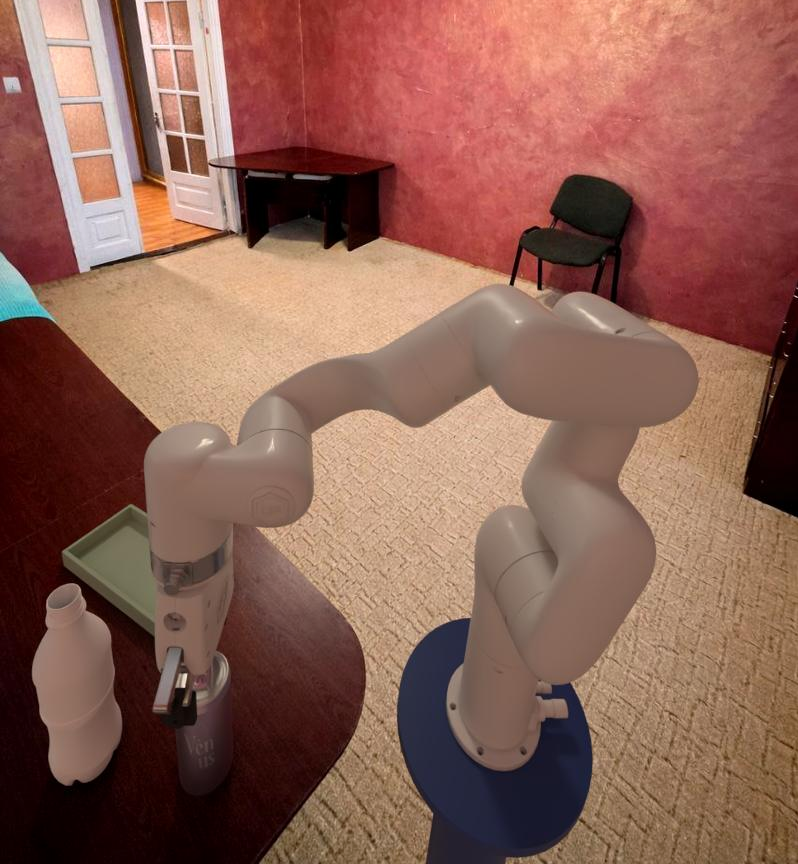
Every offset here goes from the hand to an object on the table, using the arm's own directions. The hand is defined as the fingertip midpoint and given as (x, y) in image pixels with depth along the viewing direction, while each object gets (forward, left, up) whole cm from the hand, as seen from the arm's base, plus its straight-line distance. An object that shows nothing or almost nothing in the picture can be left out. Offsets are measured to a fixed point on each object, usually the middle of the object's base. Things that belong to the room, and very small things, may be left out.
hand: (197, 668), depth 52 cm
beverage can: (0, 0, -16) cm, 16 cm away
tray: (+18, -25, -16) cm, 35 cm away
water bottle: (+14, -1, -16) cm, 21 cm away
